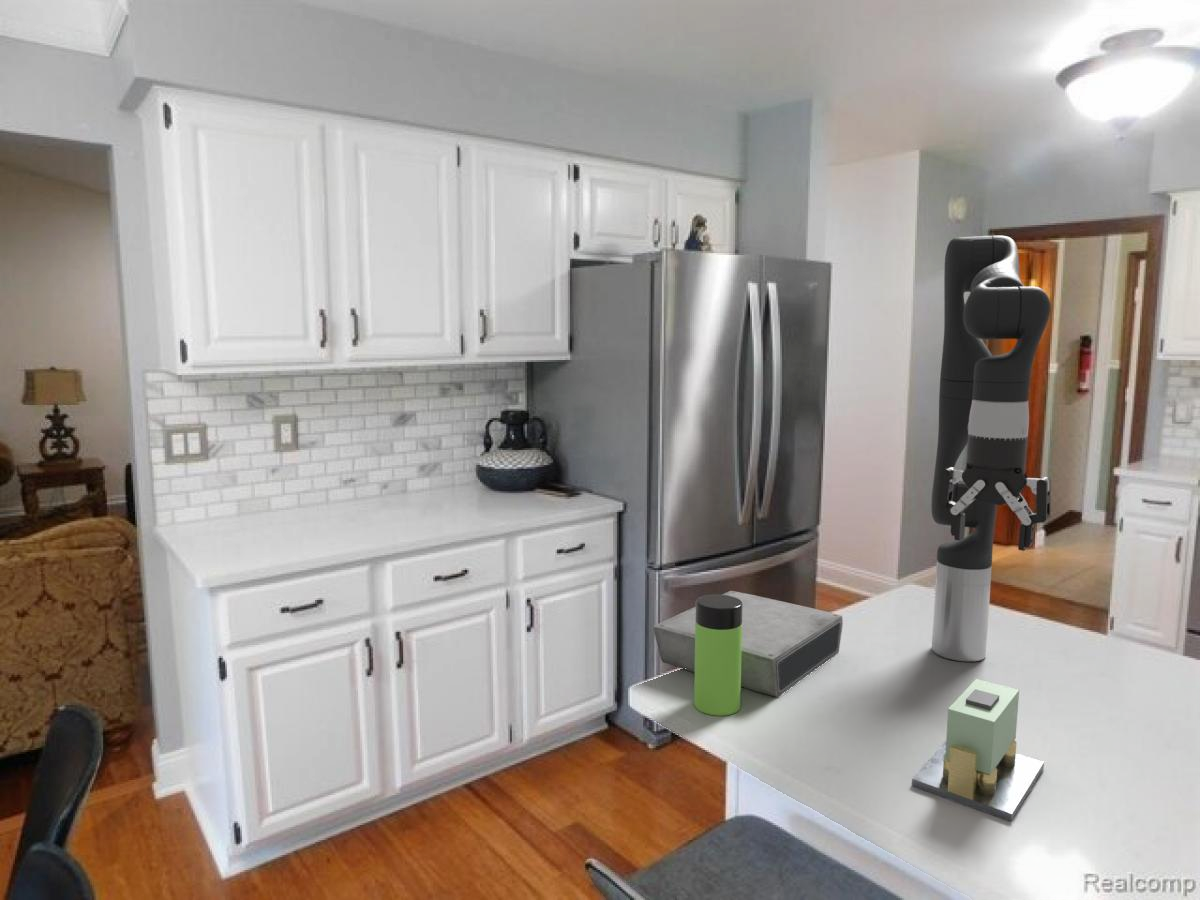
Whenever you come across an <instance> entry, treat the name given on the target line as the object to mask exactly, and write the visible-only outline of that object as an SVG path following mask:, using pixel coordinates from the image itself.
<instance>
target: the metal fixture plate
mask: <svg viewBox="0 0 1200 900" xmlns="http://www.w3.org/2000/svg"><path fill="white" fill-rule="evenodd" d="M1016 752H1017V741H1016V739H1015V740H1014V742H1013V743H1012V745H1011V746H1010V748H1009V749H1008V750H1007V752H1006V753H1005V755H1004V756H1003V758H1002V759H1001V761H1000V762H999V764H998V765H997V766H996V768H995V769H994V771H993V772H992V774H991V775H990V774H987V773H984V772H981V771H978V770H977V760H978V752H977V751H974V750H971V749H967V748H964V747H961V746H958V745H955V744H953V745H952V746H951V747H950V761H947V760H945V754H946V740H945V741H944V743H942V745H941V746H940V747H939V748H938V749H937V750H936V752H935V753H933V755H931V757H930V758H929V759H927V762H925V764H924V765H923V766H921V768H920V769H919V770H918V771H917V772H916V774H915V775H914V776H913V777H912V778H911V787H914V788H917V789H919V790H922V791H925V792H928V793H930V794H933V795H935V796H939V797H941V798H945V799H947V800H949V801H954V802H955V803H958V804H962V805H963V806H967V807H969V808H971V809H972V808H973V809H975V810H979V811H981V812H984V813H985V814H989V815H991V816H995V817H998V818H1001V819H1003V820H1006V821H1009V822H1012V821H1013V819H1014V818H1015V816H1016V815H1017V813H1018V811H1019V810H1020V808H1021V806H1022V805H1023V803H1024V801H1025V800H1026V799H1027V797H1028V795H1029V793H1030V792H1031V790H1032V788H1033V787H1034V785H1035V783H1036V782H1037V780H1039V779H1038V778H1039V777H1040V776H1041V773H1042V772H1043V771H1044V766H1045V761H1042V760H1038V759H1035V758H1032V757H1029V756H1026V755H1023V754H1020V753H1016Z"/></svg>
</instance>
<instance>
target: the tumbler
mask: <svg viewBox="0 0 1200 900" xmlns="http://www.w3.org/2000/svg"><path fill="white" fill-rule="evenodd" d="M695 607H696V616H695V673H694V683H693V684H694V685H693V688H694V689H693V690H694V691H693V693H694V694H693V695H694V696H693V698H694V699H693V705H694V707H695V708H696V709H697V710H698V711H699V712H701V713H704V714H707V715H711V716H717V717H720V716H721V717H724V716H730V715H733V714H736V713H737V712H738V711H739V710H741V709H740V708H741V691H742V687H741V651H742V609H743V603H742V601H741V600H739V599H738V598H735V597H732V596H728V595H722V594H718V593H717V594H707V595H706V594H705V595H702V596H699V597H697V599H696V600H695Z"/></svg>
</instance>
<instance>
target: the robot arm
mask: <svg viewBox="0 0 1200 900" xmlns="http://www.w3.org/2000/svg"><path fill="white" fill-rule="evenodd" d="M945 250H946V251H945V256H944V277H943V278H944V281H943V282H944V283H943V284H944V285H943V286H944V287H943V288H944V291H943V293H944V294H943V295H944V297H943V299H944V300H943V301H944V309H943V310H944V322H943V323H944V328H943V344H942V345H943V346H942V354H941V355H942V356H941V368H940V374H939V375H940V377H939V391H938V392H939V394H938V396H939V397H938V398H939V399H938V430H937V431H938V434H937V447H936V456H935V467H934V472H933V473H934V474H933V483H932V491H931V516H932V519H933V521H934V522H935V523H936V524H938V525H941V526H950V535H951V536H953V537H954V540H950V541H945V542H942V543H941V544H940V545H939V546H937V547H938V548H937V551H936V568H935V569H936V571H935V585H934V586H935V588H934V603H933V605H934V606H933V619H932V620H933V622H932V623H933V624H932V634H931V635H932V637H931V638H932V639H931V651H933V653H935V654H936V655H938V656H940V657H942V658H945V659H949V660H953V661H958V662H978V661H982V660H984V659H985V658H986V656H987V655H986V654H987V640H988V629H989V628H988V627H989V614H990V613H989V612H990V599H991V598H990V597H991V583H992V582H991V581H992V580H991V579H992V567H993V566H992V565H993V550H994V549H993V547H994V535H995V526H996V518H997V511H998V506H1004V505H1008V507H1009V508H1010V509H1011V511H1012V512H1013V513H1015V515H1016V516H1017V518H1018V519H1019V520H1020V522H1021V524H1020V525H1019V531H1018V532H1019V533H1018V551H1022V552H1025V551H1026V550H1028V548H1030V547H1031V546H1032V545H1033V543H1034V533H1035V532H1034V531H1035V524H1039V523H1041V524H1042V523H1043V524H1044V523H1045V522H1047V521H1048V520H1049V519H1050V518H1051V506H1052V505H1051V499H1052V497H1051V491H1052V489H1051V486H1052V485H1051V484H1052V479H1051V478H1050V477H1047V476H1043V477H1041V478H1037V477H1029V476H1028V475H1027V472H1026V468H1027V467H1026V465H1027V453H1028V451H1027V450H1028V438H1029V429H1030V427H1029V424H1030V412H1029V411H1030V409H1029V398H1030V397H1029V396H1030V385H1031V383H1030V382H1031V373H1032V368H1033V365H1034V364H1033V362H1034V360H1035V356H1036V353H1037V349H1038V346H1039V344H1040V342H1041V339H1042V336H1043V335H1044V333H1045V332H1044V331H1045V329H1046V327H1047V325H1048V321H1049V318H1050V315H1051V311H1052V309H1051V308H1052V305H1051V300H1050V297H1049V295H1048V294H1047V293H1046V291H1045V290H1044V289H1042V288H1041V287H1038V286H1025V285H1024V284H1023V282H1022V280H1021V279H1020V276H1021V275H1020V260H1019V251H1018V246H1017V243H1016V242H1015V240H1014V239H1012V237H1009V236H1006V235H980V236H979V235H978V236H977V235H975V236H958V237H954V238H952V239H951V240H949V242H948V244H947V247H946V249H945ZM967 292H968V293H969V294H968V296H967V299H966V302H965V293H967ZM983 340H1016V343H1015V345H1014V347H1013V348H1012V349H1011V350H1010V351H1007V352H1005V353H1003V354H998V355H993V354H992V353H991V351H990V350H989V348H988V347H987V345H986V344H985V342H984V341H983ZM966 446H967V448H966ZM965 448H966V461H965V463H966V464H965V465H966V466H965V468H964V470H961V469H956V468H955V467H956V464H957V462H958V459H959V457H960V456H961V454H962V453H963V451H964V449H965ZM1026 487H1029V488H1030V490H1031V492H1032V494H1034V495H1035V496H1036V500H1035V501H1036V502H1035V503H1036V504H1035V505H1036V508H1035V509H1036V510H1035V511H1036V512H1033V510H1032V509H1031V508H1030V507H1029V506H1028V505H1029V504H1028V502H1027V501H1026V499H1025V497H1024V496H1023V495H1022V491H1024V489H1025V488H1026ZM965 528H974V531H972V532H971V533H970V534H968V535H967V536H965V530H966V529H965Z"/></svg>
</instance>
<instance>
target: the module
mask: <svg viewBox="0 0 1200 900" xmlns="http://www.w3.org/2000/svg"><path fill="white" fill-rule="evenodd" d="M1019 697H1020V689H1017V688H1013V687H1009V686H1005V685H1001V684H997V683H993V682H989V681H985V680H982V679H977V678H975V679H974V680H973V681H972V683H970V685H969V686H968V687H966V689H965V690H964V691H963V692H962V694H960V695H959V696H958V698H957V699H955V701H954V702H953V703H952V704H951V705H950V706H949V707H948V710H947V725H946V739H945V741H946V754H945V760H947V761H950V747H951V746H952V745H953V744H955V745H958V746H961V747H964V748H967V749H971V750H974V751H977V752H978V760H977V770H978V771H981V772H984V773H987V774H990V775H991V774H992V772H993V771H994V769H995V768H996V766H997V765H998V764H999V762H1000V761H1001V759H1002V758H1003V756H1004V755H1005V753H1006V752H1007V750H1008V749H1009V748H1010V746H1011V745H1012V743H1013V742H1014V740H1015V741H1016V736H1017V728H1018V727H1017V725H1018V712H1019Z"/></svg>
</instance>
